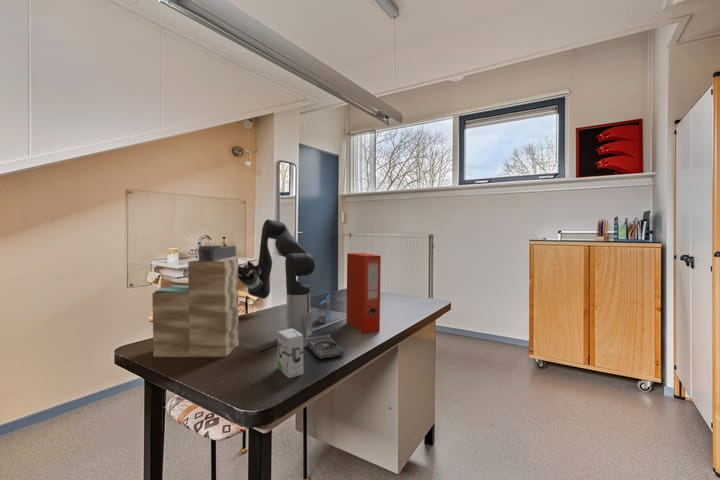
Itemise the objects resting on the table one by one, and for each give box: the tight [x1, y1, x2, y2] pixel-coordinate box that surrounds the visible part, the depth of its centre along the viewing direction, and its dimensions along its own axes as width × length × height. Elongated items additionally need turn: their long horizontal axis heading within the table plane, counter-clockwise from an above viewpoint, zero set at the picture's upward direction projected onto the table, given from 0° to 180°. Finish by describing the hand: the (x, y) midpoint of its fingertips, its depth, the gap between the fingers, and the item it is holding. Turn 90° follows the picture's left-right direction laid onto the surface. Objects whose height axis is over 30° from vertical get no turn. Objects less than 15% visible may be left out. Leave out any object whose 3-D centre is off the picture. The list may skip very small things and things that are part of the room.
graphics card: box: [303, 334, 345, 360], centre depth 115 cm, size 17×4×12 cm
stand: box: [151, 257, 240, 358], centre depth 115 cm, size 12×24×32 cm, turn 90°
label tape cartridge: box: [317, 292, 332, 324], centre depth 154 cm, size 9×4×12 cm, turn 172°
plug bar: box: [198, 245, 237, 261], centre depth 120 cm, size 22×5×5 cm, turn 0°
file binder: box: [346, 252, 382, 335], centre depth 143 cm, size 8×17×32 cm, turn 25°
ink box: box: [277, 328, 304, 379], centre depth 99 cm, size 9×5×12 cm, turn 36°
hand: (238, 263), depth 137 cm, fingers open, 8 cm apart
